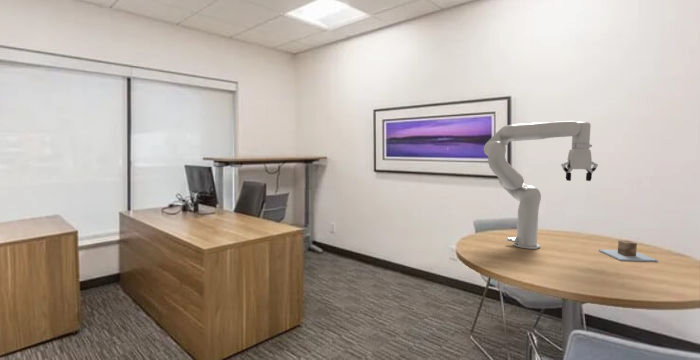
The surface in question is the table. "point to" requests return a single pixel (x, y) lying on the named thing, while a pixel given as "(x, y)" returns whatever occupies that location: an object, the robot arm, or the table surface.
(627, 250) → the walnut block
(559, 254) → the table surface
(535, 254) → the table surface
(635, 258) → the slate board
